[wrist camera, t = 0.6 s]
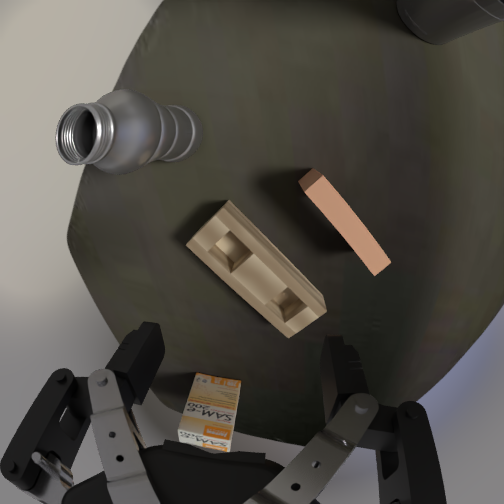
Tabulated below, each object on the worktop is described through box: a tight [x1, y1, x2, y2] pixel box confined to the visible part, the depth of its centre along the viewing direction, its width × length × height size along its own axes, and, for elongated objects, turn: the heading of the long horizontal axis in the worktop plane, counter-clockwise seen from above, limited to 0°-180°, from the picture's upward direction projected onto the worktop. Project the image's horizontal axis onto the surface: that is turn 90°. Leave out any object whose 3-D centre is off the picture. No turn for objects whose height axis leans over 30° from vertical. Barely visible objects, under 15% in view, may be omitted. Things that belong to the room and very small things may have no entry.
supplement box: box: [178, 373, 241, 452], centre depth 40 cm, size 8×5×13 cm, turn 82°
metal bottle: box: [56, 89, 203, 175], centre depth 22 cm, size 6×7×20 cm
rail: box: [186, 200, 327, 338], centre depth 35 cm, size 6×18×4 cm, turn 44°
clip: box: [298, 168, 391, 276], centre depth 30 cm, size 2×12×7 cm, turn 44°
